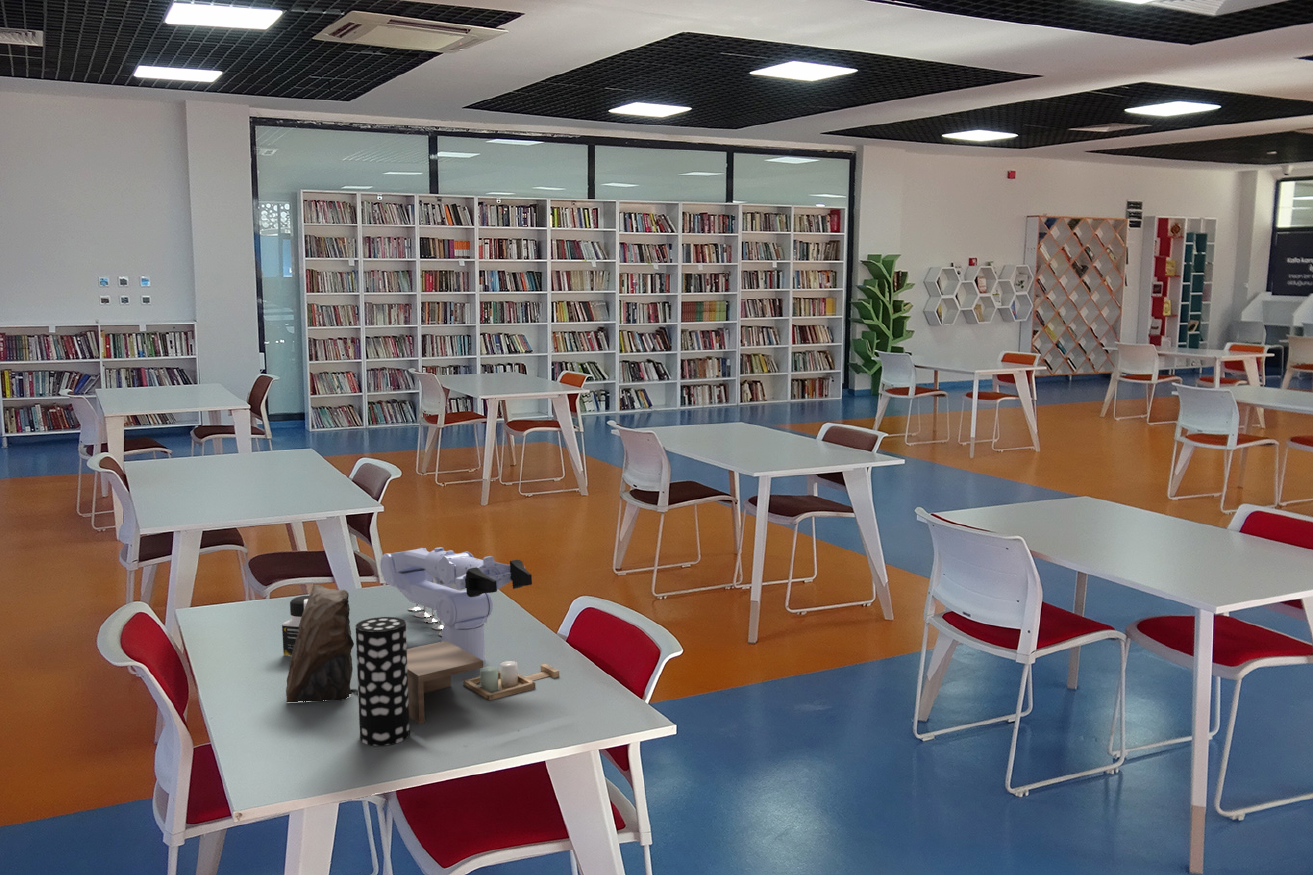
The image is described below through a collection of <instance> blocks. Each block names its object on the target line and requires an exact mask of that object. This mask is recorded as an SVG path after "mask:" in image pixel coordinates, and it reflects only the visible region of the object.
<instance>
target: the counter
mask: <svg viewBox="0 0 1313 875" xmlns="http://www.w3.org/2000/svg"><path fill="white" fill-rule="evenodd" d="M483 667H484V662H483V660H481V659H479V658H477V657H476V656H474V655H472V654H470V653H468V652H467V651H465V650H463V649H461V648H459V647H457V646H456V645H454V644H452V643H450V642H448V641H442V640H441V641H439V642H434V643H429V644H425V645H420V646H416V647H411V648H407V673H408V702H409V719H411V720H413V721H414V722H416V723H417V724H418V725H421V724H425V723H426V722H425V700H424V699H425V693H430V692H434V691H437V690H442V689H445V688H449V687H451V686H452V683H451V682H452V680H451V679H452V676H453V675H458V674H462V673H466V672H471V671H475V670H478V669H479V670H480V669H481V668H483Z"/></svg>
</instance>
